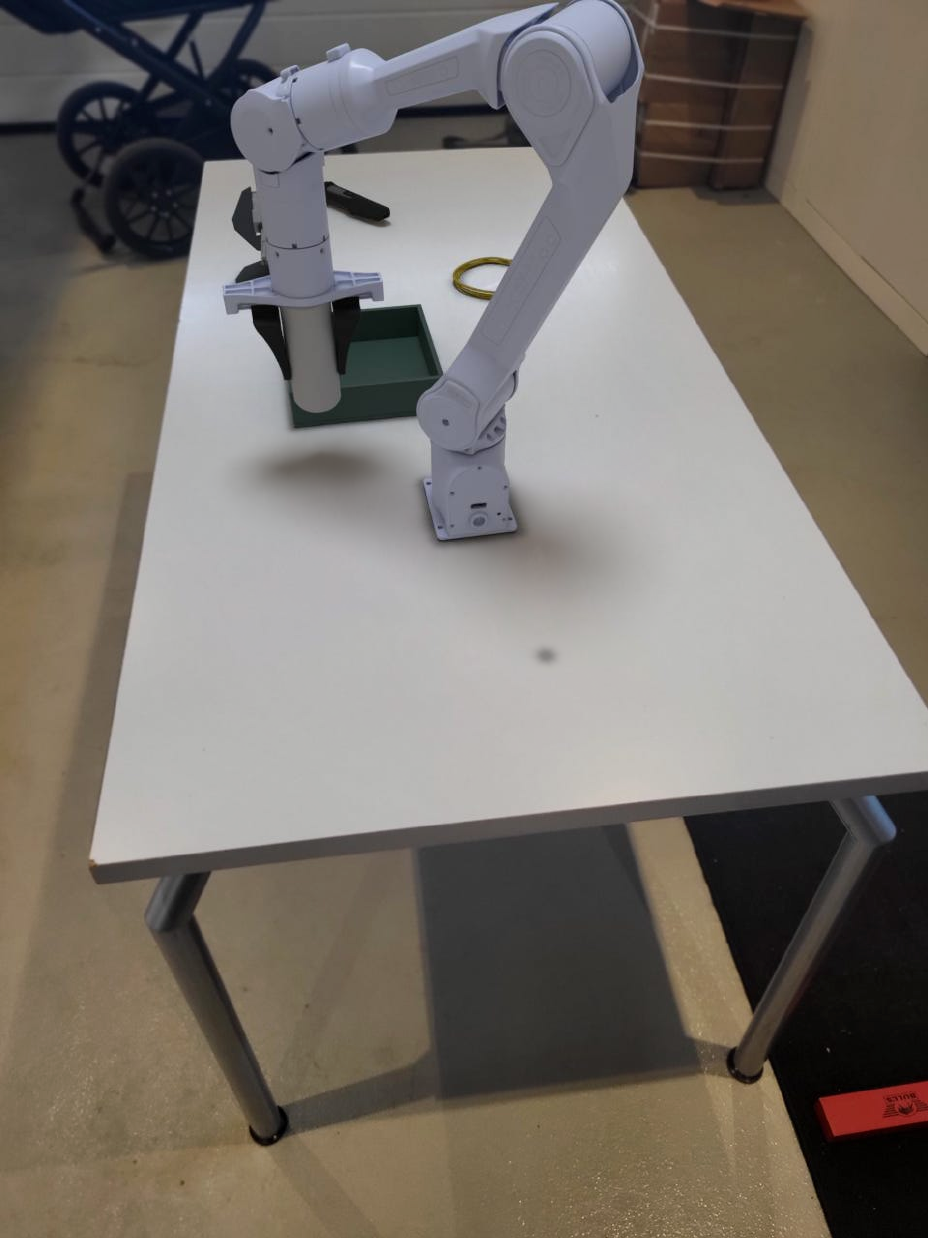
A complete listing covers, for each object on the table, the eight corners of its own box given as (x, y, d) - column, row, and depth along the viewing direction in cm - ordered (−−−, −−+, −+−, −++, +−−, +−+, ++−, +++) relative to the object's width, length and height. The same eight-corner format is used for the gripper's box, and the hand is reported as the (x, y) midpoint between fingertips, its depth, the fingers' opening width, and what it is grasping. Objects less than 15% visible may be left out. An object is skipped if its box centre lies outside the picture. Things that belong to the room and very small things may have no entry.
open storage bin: (445, 411, 101) (444, 377, 98) (294, 427, 99) (289, 392, 96) (421, 336, 113) (420, 303, 110) (286, 349, 111) (281, 315, 107)
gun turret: (234, 333, 113) (213, 232, 104) (237, 263, 127) (219, 168, 117) (332, 326, 115) (321, 226, 105) (325, 257, 128) (315, 163, 119)
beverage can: (333, 417, 88) (320, 304, 80) (287, 412, 89) (269, 299, 80) (347, 391, 92) (336, 279, 83) (302, 386, 92) (286, 275, 83)
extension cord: (569, 299, 120) (571, 285, 119) (454, 301, 119) (454, 287, 118) (558, 258, 128) (559, 245, 127) (450, 260, 128) (450, 247, 126)
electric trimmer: (378, 231, 135) (377, 210, 132) (312, 201, 142) (310, 180, 139) (396, 224, 137) (395, 203, 134) (330, 194, 144) (328, 174, 141)
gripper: (372, 210, 81) (381, 344, 91) (212, 222, 79) (239, 358, 89) (383, 243, 77) (391, 380, 87) (213, 257, 75) (241, 396, 85)
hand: (314, 372), depth 88 cm, fingers closed on beverage can, 5 cm apart
